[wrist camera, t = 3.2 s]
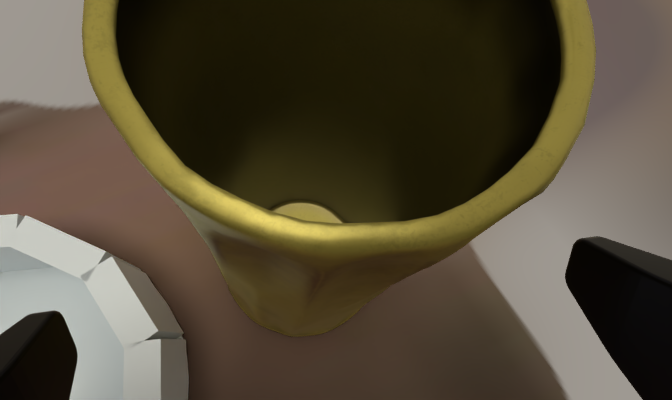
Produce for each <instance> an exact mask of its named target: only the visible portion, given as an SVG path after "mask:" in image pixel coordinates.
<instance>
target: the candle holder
mask: <svg viewBox="0 0 672 400" xmlns="http://www.w3.org/2000/svg"><path fill="white" fill-rule="evenodd" d="M53 310H55V311H58V312H60V313H61V314H62V315H63V317H64V319H65V321H66V324H67V326H68V328H69V331H70V333H71V336H72V338H73V340H74V343H75V345H76V348H77V354H78V359H77V366H76V371H75V375H74V380H73V385H72V390H71V395H70V399H69V400H188V392H189V371H188V359H187V354H186V339H183V337H182V334H184V332H183V331H182V329H181V327H180V326H179V324H178V323H177V320H176V318H175V317H174V315H173V313H172V311H171V309H170V307H169V306H168V304H167V302H166V301H165V300H164V298H163V297H162V296H161V294H160V293H159V292H158V290H157V289H156V288H155V287H154V285H153V284H152V282H151V280H150V279H149V277H148V276H147V274H146V273H144V272H142V271H141V269H140V268H138V267H136V266H134V265H132V264H130V263H128V262H126V261H124V260H122V259H120V258H118V257H116V256H114V255H112V254H110V253H108V252H106V251H104V250H102V249H100V248H97V247H95V246H93V245H91V244H89V243H86V242H84V241H82V240H80V239H77V238H75V237H73V236H71V235H69V234H66V233H64V232H62V231H60V230H58V229H55V228H53V227H51V226H49V225H46V224H44V223H42V222H40V221H38V220H35V219H33V218H31V217H29V216H25V217H23V216H21V215H19V214H11V215H0V334H2V333H3V332H4V331H6V330H7V329H9V328H10V327H11V326H13V325H14V324H15V323H17V322H18V321H20V320H21V319H22V318H24V317H25V316H27V315H29V314H32V313H38V312H46V311H53Z"/></svg>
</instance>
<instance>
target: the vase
mask: <svg viewBox="0 0 672 400" xmlns="http://www.w3.org/2000/svg"><path fill="white" fill-rule="evenodd" d="M82 39H83V56H84V60H85V64H86V67H87V72H88V75H89V79H90V82H91V85H92V87H93V90H94V92H95V94H96V96H97V98H98V100H99V102H100V104H101V106H102V108H103V109H104V111H105V112H106V113H107V115H108V116H109V118H110V119H111V121H112V122H113V124H114V125H115V127H116V128H117V130H118V131H119V133H120V134H121V136H122V137H123V139H124V140H125V142H126V143H127V145H128V146H129V148H130V149H131V151H132V152H133V154H134V155H135V157H136V158H137V160H138V161H139V162H140V163H141V164H142V165H143V167H144V168H145V169H146V170H147V171H148V172H149V173H150V174H151V176H152V177H153V178H154V179H155V180H156V181H157V182H158V184H159V185H160V186H161V187H162V188H163V189H164V190H165V192H166V193H167V194H168V195H169V196H170V197H171V198H172V199H173V201H174V202H175V203H176V204H177V205H178V206H179V207H180V208H181V209H182V211H183V212H184V213H185V215H186V216H187V217H188V219H189V220H190V221H191V223H192V224H193V226H194V227H195V229H196V230H197V231H198V233H199V234H200V235H201V237H202V238H203V240H204V241H205V242H206V244H207V245H208V247H209V249H210V251H211V252H212V254H213V256H214V259H215V261H216V263H217V265H218V267H219V269H220V271H221V273H222V275H223V277H224V279H225V281H226V282H227V284H228V288H229V291H230V292H231V294H232V296H233V298H234V300H235V301H236V302H237V304H238V305H239V307H240V308H241V309H242V310H243V311H244V312H245V314H246V315H247V316H248V317H249V318H251V319H252V320H253V321H254V322H256V323H257V324H259V325H261V326H263V327H265V328H267V329H270V330H273V331H276V332H278V333H281V334H284V335H288V336H291V337H301V336H311V335H318V334H323V333H325V332H328V331H330V330H332V329H334V328H336V327H338V326H340V325H341V324H343V323H344V322H346V321H347V320H349V319H350V318H351V317H352V316H353V315H355V314H356V313H357V312H358V311H359V310H360V308H361V307H363V306H364V305H365V304H366V303H368V302H369V301H370V300H372V299H373V298H375V297H376V296H378V295H379V294H381V293H382V292H383V291H385V290H386V289H387V288H388V287H389V286H391V285H392V284H395V283H397V282H399V281H401V280H403V279H404V278H406V277H408V276H410V275H412V274H414V273H417V272H418V271H420V270H422V269H425V268H428V267H430V266H432V265H434V264H436V263H437V262H439V261H441V260H443V259H445V258H446V257H448V256H450V255H452V254H453V253H455V252H456V251H458V250H459V249H461V248H462V247H464V246H465V245H466V244H468V243H469V242H470V241H471V240H472V239H474V238H475V237H476V236H478V235H479V234H481V233H482V232H484V231H485V230H487V229H488V228H489V227H491V226H492V225H494V224H495V223H496V222H498V221H499V220H501V219H502V218H504V217H505V216H507V215H508V214H510V213H511V212H512V211H514V210H515V209H517V208H518V207H520V206H521V205H523V204H524V203H526V202H528V201H529V200H531V199H532V198H534V197H536V196H537V195H539V194H541V193H542V192H543V191H544V190H545V189H546V188H547V187H548V186H549V184H550V183H551V182H552V181H553V180H554V178H555V176H556V174H557V173H558V172H559V170H560V169H561V167H562V166H563V164H564V162H565V161H566V159H567V157H568V155H569V153H570V151H571V149H572V147H573V145H574V144H575V142H576V140H577V138H578V136H579V134H580V132H581V131H582V129H583V127H584V125H585V120H586V115H587V111H588V106H589V102H590V97H591V93H592V88H593V84H594V75H595V57H596V47H595V39H594V31H593V24H592V20H591V16H590V12H589V8H588V5H587V1H586V0H84V10H83V24H82Z"/></svg>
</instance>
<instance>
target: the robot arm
mask: <svg viewBox="0 0 672 400" xmlns="http://www.w3.org/2000/svg"><path fill="white" fill-rule="evenodd" d="M565 279H566V283H567V286H568V288H569V290H570V291H571V293H572V294H573V296H574V298H575V299H576V301H577V303H578V304H579V306H580V308H581V309H582V311H583V313H584V314H585V316H586V317H587V319H588V321H589V322H590V324H591V326H592V327H593V329H594V330H595V332H596V334H597V335H598V337H599V338H600V340H601V342H602V343H603V345H604V347H605V348H606V350H607V351H608V353H609V354H610V356H611V357H612V359H613V360H614V362H615V363H616V364H617V366H618V367H619V369H620V370H621V371H622V373H623V374H624V375H625V377H626V378H627V379H628V381H629V382H630V383H631V385H632V386H633V387H634V389H635V390H636V391H637V393H638V394H639V395H640V397H641V398H642V399H643V400H672V260H669V259H666V258H663V257H660V256H657V255H654V254H651V253H648V252H645V251H642V250H639V249H636V248H633V247H630V246H627V245H624V244H621V243H618V242H615V241H612V240H609V239H606V238H603V237H598V236H596V237H589V238H581V239H579V240H577V241H576V242H575V243H574V245H573V248H572V251H571V255H570V258H569V262H568V266H567V269H566V273H565ZM77 359H78V354H77V348H76V345H75V343H74V340H73V338H72V336H71V333H70V331H69V328H68V326H67V324H66V321H65V319H64V317H63V315H62V314H61V313H60V312H58V311H55V310H53V311H46V312H38V313H32V314H29V315H27V316H25V317H24V318H22V319H21V320H20V321H18V322H17V323H15V324H14V325H13V326H11V327H10V328H9V329H7V330H6V331H4V332H3V333H2V334H0V400H69V399H70V395H71V390H72V385H73V380H74V375H75V371H76V366H77Z"/></svg>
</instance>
